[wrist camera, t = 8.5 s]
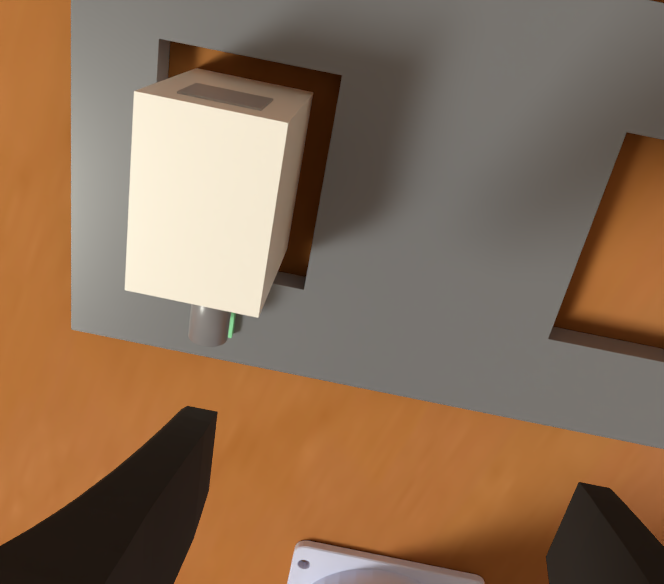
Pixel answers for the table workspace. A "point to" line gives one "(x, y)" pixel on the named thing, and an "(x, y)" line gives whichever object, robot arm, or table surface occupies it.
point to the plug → (213, 193)
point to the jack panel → (404, 194)
